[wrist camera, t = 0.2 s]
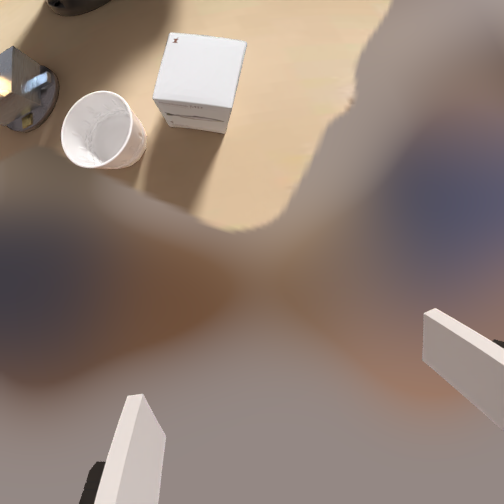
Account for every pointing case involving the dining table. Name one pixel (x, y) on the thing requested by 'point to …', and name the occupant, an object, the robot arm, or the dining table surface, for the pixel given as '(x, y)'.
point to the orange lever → (19, 85)
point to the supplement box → (199, 81)
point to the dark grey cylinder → (42, 112)
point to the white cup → (103, 132)
